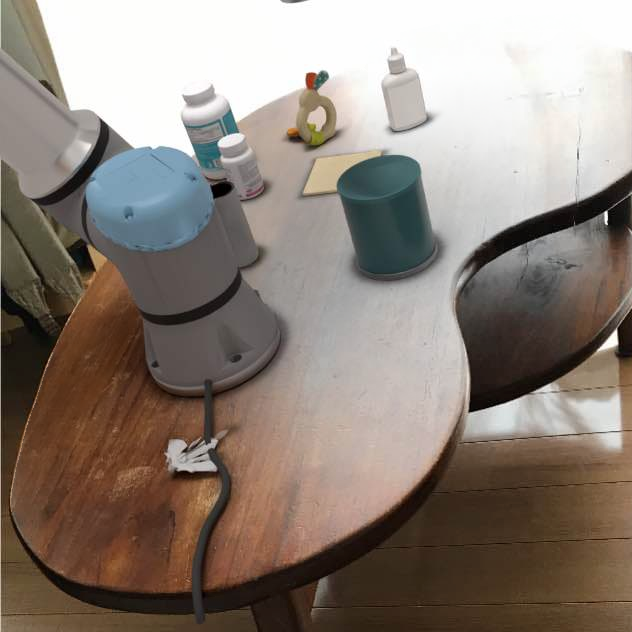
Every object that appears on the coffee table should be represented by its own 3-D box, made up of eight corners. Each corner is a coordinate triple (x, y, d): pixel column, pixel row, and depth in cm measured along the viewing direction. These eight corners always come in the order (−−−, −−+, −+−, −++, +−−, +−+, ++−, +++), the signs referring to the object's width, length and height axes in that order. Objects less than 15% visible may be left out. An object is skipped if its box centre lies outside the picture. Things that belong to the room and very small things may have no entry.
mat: (371, 188, 121) (370, 185, 120) (303, 196, 123) (302, 193, 123) (382, 152, 128) (381, 150, 128) (317, 160, 131) (316, 158, 130)
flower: (208, 424, 92) (202, 403, 91) (255, 454, 87) (250, 433, 86) (148, 461, 88) (141, 440, 87) (194, 495, 83) (188, 473, 82)
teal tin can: (433, 276, 102) (415, 194, 95) (350, 283, 104) (327, 204, 97) (441, 228, 109) (426, 149, 102) (364, 236, 112) (344, 159, 105)
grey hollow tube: (253, 267, 112) (227, 198, 105) (221, 269, 113) (193, 201, 107) (263, 247, 115) (238, 178, 109) (231, 249, 117) (205, 182, 110)
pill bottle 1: (229, 153, 139) (201, 72, 131) (259, 161, 135) (231, 78, 126) (194, 176, 136) (162, 95, 128) (223, 185, 131) (192, 102, 123)
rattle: (327, 120, 141) (308, 51, 133) (347, 136, 134) (329, 65, 127) (285, 137, 139) (264, 68, 132) (303, 155, 133) (282, 83, 126)
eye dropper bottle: (425, 128, 131) (410, 50, 123) (389, 133, 132) (371, 56, 125) (428, 114, 134) (414, 38, 126) (393, 119, 135) (376, 44, 128)
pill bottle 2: (267, 181, 129) (250, 129, 124) (261, 198, 126) (243, 145, 120) (237, 186, 130) (218, 134, 125) (230, 202, 127) (211, 150, 121)
